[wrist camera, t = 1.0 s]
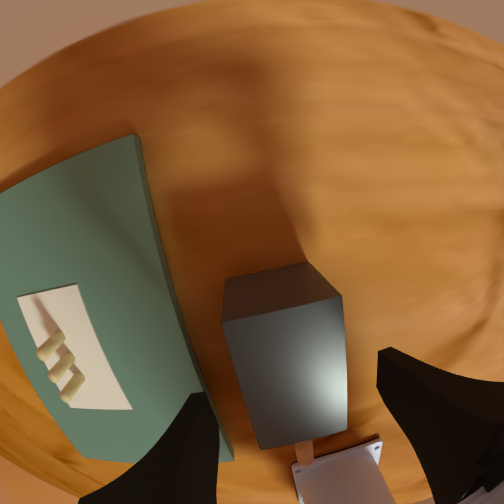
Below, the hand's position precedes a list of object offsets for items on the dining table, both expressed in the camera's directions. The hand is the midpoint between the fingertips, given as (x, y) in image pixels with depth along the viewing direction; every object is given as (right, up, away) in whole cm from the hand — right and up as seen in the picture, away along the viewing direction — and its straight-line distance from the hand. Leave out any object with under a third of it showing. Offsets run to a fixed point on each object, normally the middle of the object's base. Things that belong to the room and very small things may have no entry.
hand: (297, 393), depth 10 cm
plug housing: (0, -1, +6) cm, 6 cm away
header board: (-12, 0, +5) cm, 13 cm away
